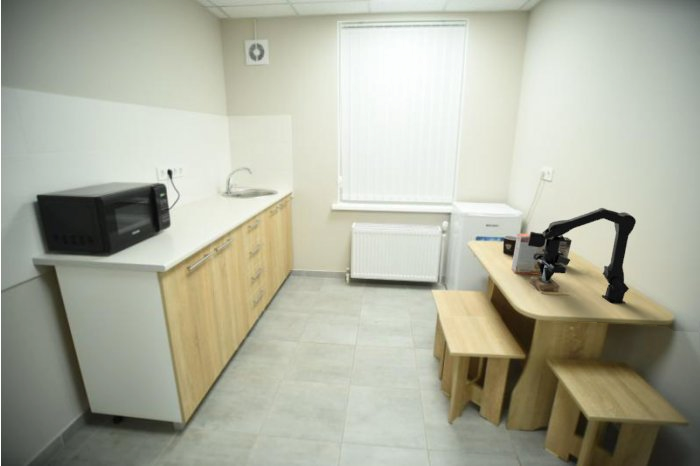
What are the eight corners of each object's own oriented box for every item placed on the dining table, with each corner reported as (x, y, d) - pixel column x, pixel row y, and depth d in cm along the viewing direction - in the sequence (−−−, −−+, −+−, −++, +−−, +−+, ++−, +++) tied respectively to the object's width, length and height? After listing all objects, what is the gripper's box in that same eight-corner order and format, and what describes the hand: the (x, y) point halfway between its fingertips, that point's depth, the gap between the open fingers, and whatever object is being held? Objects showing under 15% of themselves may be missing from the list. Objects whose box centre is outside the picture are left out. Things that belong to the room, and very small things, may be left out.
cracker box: (536, 270, 183) (544, 233, 177) (542, 274, 177) (549, 237, 171) (510, 269, 184) (517, 232, 178) (514, 273, 178) (521, 236, 172)
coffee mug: (498, 251, 210) (500, 236, 208) (507, 250, 214) (510, 235, 211) (513, 258, 200) (516, 242, 197) (523, 256, 204) (526, 240, 201)
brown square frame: (558, 292, 158) (559, 285, 157) (538, 291, 158) (540, 284, 157) (548, 283, 166) (549, 277, 165) (529, 283, 167) (531, 276, 166)
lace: (568, 294, 155) (568, 293, 155) (541, 293, 156) (541, 292, 156) (563, 290, 159) (564, 289, 159) (537, 289, 160) (537, 288, 160)
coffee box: (548, 265, 190) (553, 238, 185) (544, 261, 196) (550, 235, 191) (565, 267, 188) (572, 240, 183) (561, 263, 194) (567, 236, 189)
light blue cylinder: (548, 286, 160) (553, 267, 158) (542, 286, 161) (546, 267, 158) (545, 284, 163) (549, 265, 160) (539, 283, 164) (543, 264, 161)
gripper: (581, 256, 147) (574, 288, 152) (558, 243, 165) (552, 272, 170) (555, 255, 148) (548, 287, 152) (535, 242, 166) (529, 271, 170)
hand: (545, 279), depth 161 cm, fingers open, 3 cm apart
